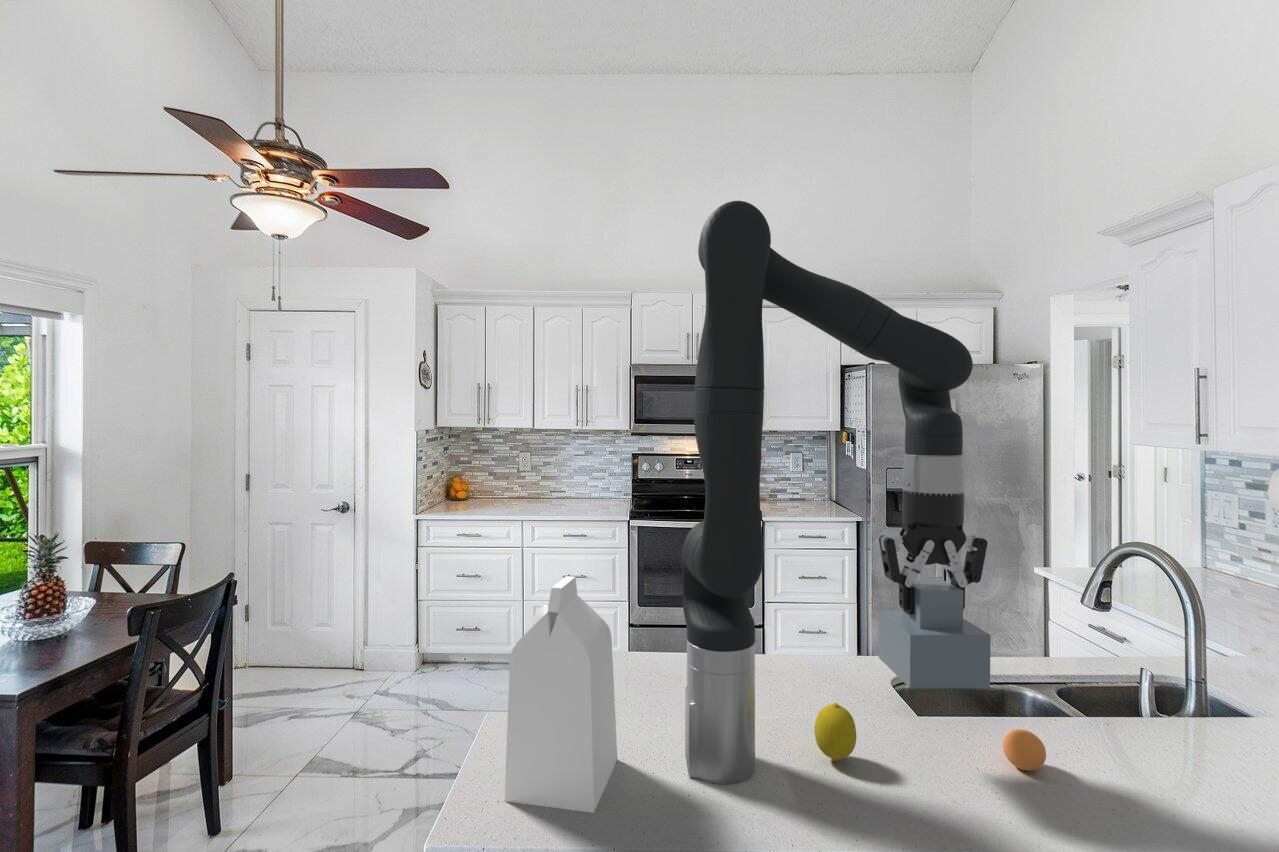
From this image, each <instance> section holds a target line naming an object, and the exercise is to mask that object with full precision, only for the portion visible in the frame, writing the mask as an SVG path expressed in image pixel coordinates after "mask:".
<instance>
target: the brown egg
mask: <svg viewBox="0 0 1279 852" xmlns="http://www.w3.org/2000/svg"><path fill="white" fill-rule="evenodd" d="M1002 749H1003V752H1004V755H1005V758H1007V760H1008V761H1009V762H1010V764H1012V765H1013V766H1014V767H1016V768H1018V769H1020V770H1022V771H1029V772H1032V771H1036V770H1038V769H1040V768H1041V767H1043V765H1044V764H1045V762H1046V758H1047V751H1046V747H1045V745H1044V743H1043V742H1042V740H1041V739H1040V738H1039V736H1037V735H1036V734H1035V733H1033V732H1031V731H1029V730H1026V729H1021V728H1018V729H1013V730H1010V731H1009V732H1007V734H1006V735H1004V737H1003V741H1002Z"/></svg>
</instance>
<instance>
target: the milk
mask: <svg viewBox="0 0 1279 852" xmlns="http://www.w3.org/2000/svg"><path fill="white" fill-rule="evenodd" d="M576 579H577V578H576V576H568V575H567V576H566V575H565V576H564V577H563V578H561V580H559V581H558V582H557V583H555V584H554V585H552V587H551V588H550V594H549V600H548V605H547V604H544V605H543V606H542V607H540V608H539V609H538V611H536V612H535V614H534V615H533V616H532V617H531V618H530V621H531V622H532V623H533V626H532V627H530V629H529V630H528V631H527V632H526V633H525V634H524V635H522V637H521V638H520V639H519V640H518V641H517V642H516V643H515V644H514V645H513V647H512V650H511V652H510V657H509V673H508V676H509V678H508V698H507V699H508V700H507V702H508V703H507V724H506V726H507V727H506V748H505V749H506V750H505V755H506V756H505V776H504V777H505V778H504V781H505V782H504V798H503V799H504V802H509V803H515V804H516V803H517V804H523V805H532V806H537V807H538V806H539V807H548V808H553V809H554V808H555V809H562V810H568V811H577V812H578V811H579V812H585V813H593V814H595V811H596V809H597V807H598V805H599V803H600V800H601V798H602V796H603V793H604V791H605V789H606V787H607V785H608V783H609V780H610V778H611V775H612V773H613V771H614V768H615V766H616V764H617V762H618V745H617V744H618V741H617V725H616V724H617V721H616V719H617V718H616V704H615V703H616V702H615V701H616V699H615V682H614V679H615V678H614V663H613V662H614V661H613V660H614V659H613V642H612V641H613V639H612V631H611V628H610V627H609V624H608V623H607V622H606V621H605V620H604V618H602V617H601V616H600V614H598V612H596V611H595V610H594V609H593V608H592V607H591V606H590V605H589V604H588V603H587V602H586V601H584V599H582V598H581V597H580V595H578V588H577V580H576Z"/></svg>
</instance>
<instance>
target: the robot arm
mask: <svg viewBox="0 0 1279 852" xmlns="http://www.w3.org/2000/svg"><path fill="white" fill-rule="evenodd" d="M771 233H772V232H771V229H770V225H769V223H768V221H767V219H766V217H765V215H764V214H763V212H762V211H761V210H760V209H758V207H756V206H755V205H754V204H752V203H749V202H747V201H743V200H732V201H728V202H725V203H723V204H721V205H720V206H719V207H717V208H716V209H715V210H713V212H711V214H710V215H709V216H708V217H707V219H706V220H705V222H704V223H703V225H702V229H701V231H700V237H699V241H698V248H697V249H698V250H697V253H698V260H699V263H700V265H701V268H702V269H703V270H704V280H705V281H704V285H705V314H704V322H703V328H702V332H701V338H700V343H699V349H698V354H697V362H696V369H695V380H694V400H693V402H694V403H693V422H694V425H693V426H694V433H695V439H696V445H697V449H698V450H697V451H698V456H699V459H700V463H701V468H702V473H703V480H704V489H705V503H704V517H703V520H702V521H700V522H698V523H696V524H695V525H694V526H693V527H692V528H691V529H690V530H689V532H688V533H687V535H686V537H685V539H684V542H683V545H682V552H681V553H682V554H681V585H682V586H681V589H682V593H681V594H682V610H683V611H682V612H683V616H684V619H685V624H686V686H685V689H684V690H685V695H684V699H685V700H684V704H685V705H684V706H685V707H684V710H685V711H684V712H685V713H684V715H685V718H684V719H685V720H684V721H685V722H684V727H685V728H684V733H685V734H684V737H685V739H684V741H685V742H684V747H685V748H684V752H685V761H686V766H687V774H688V777H689V778H699V779H702V780H705V782H706V781H707V782H710V783H716V784H734V783H735V784H736V783H739V782H743V781H745V780H746V779H749V778H750V777H752V775H753V774H754V772H755V768H756V626H755V625H756V623H755V620H754V618H753V615H752V613H751V610H750V608H749V604H748V600H747V594H748V593H749V592H751V590H752V589H753V588H755V586H756V584H757V583H758V581H759V579H760V577H761V575H762V572H763V567H764V540H763V530H762V529H763V528H762V517H761V516H762V515H761V512H762V511H761V496H760V494H761V493H760V490H761V488H760V487H761V485H760V484H761V469H762V468H761V465H762V448H763V447H762V444H763V443H762V441H763V440H762V439H763V425H764V410H765V409H764V408H765V407H764V403H765V391H764V390H765V354H764V353H765V352H764V351H765V350H764V349H765V346H764V345H765V344H764V331H763V303H764V301H767V302H769V303H771V304H773V305H775V306H778V307H779V308H782V309H783V310H785V311H787V312H789V313H791V314H793V315H795V316H796V317H798V318H800V319H802V320H803V321H805V322H806V323H809V324H811V325H812V326H814V327H815V328H817V329H819V330H821V332H824V333H826V334H827V335H829V336H830V337H832V338H834V339H835V340H836V341H839V342H840V343H842V344H844V345H846V346H847V347H849V348H851V350H854V351H855V352H857V353H859V354H860V355H862V356H864V357H866V358H869V359H871V360H873V361H879V362H880V361H882V362H885V363H888V364H891V365H893V366H894V367H896V368H898V373H897V375H898V376H897V378H898V380H897V381H898V390H899V394H900V401H901V407H902V410H903V411H902V412H903V414H904V419H905V429H904V430H905V431H904V434H905V435H904V460H903V467H902V479H901V486H902V509H901V510H902V512H901V513H902V516H901V517H902V518H901V519H902V527H901V529H900V532H899V534H894V535H890V536H887V535H885V534H881V535H880V536H879V537H878V543H879V549H880V555H881V561H882V567H883V572H884V576H885V578H887V579H889V580H890V581H892V582H893V583H897V584H898V604H899V607H900V608H901V610H902V609H903V611H904V612H905V613H907V614H908V615H914V613H915V588H914V587H912V586H913V585H914V583H915V581H916V580H917V578H918V576H919V574H921V573H922V572H923V569H924V567H925V565H926V566H931V565H934V564H937V565H941V566H942V568H943V569H944V570H945V572H946V575H947V577H948V580H949V581H950V584H952V585H954V586H955V587H957V588H959V589H961V590H963V611H964V609H965V607H966V587H967V586H968V585H970V584H973V583H975V584H978V583H980V582H981V580H982V574H983V569H984V564H985V559H986V554H987V548H988V541H987V539H985V538H983V537H981V536H977V535H973V534H972V535H971V536H970V535H966V533H965V531H964V528H963V526H964V522H965V466H964V460H963V458H964V457H963V441H964V440H963V437H964V435H963V429H964V428H963V422H962V418H961V416H960V414H958V413H957V412H955V411H954V410H953V408H952V401H951V394H950V391H952V390H955V389H957V388H959V387H960V386H962V385H964V384H965V383H966V382H967V381H968V380H969V378H970V377H971V374H972V371H973V367H974V365H973V364H974V363H973V357H972V355H971V353H970V350H969V349H968V348H967V346H965V344H963V343H962V342H961V341H960V340H958V338H956V337H955V336H953V335H951V334H949V333H947V332H946V331H943V330H941V329H939V328H936V327H934V326H931V325H928V324H925V323H924V322H920V321H918V320H916V319H912V318H909V317H907V316H904V315H902V314H901V313H899V312H897V311H896V310H894V309H893V308H891V307H890V306H889V305H886V304H885V303H883V302H882V301H880V300H878V299H876V298H875V297H873V296H871V295H870V294H868V293H866V292H864V291H862V290H860V289H858V288H856V287H854V286H851V285H850V284H847V283H844V282H841V281H839V280H836V279H833V278H830V277H827V276H823V275H820V274H818V273H816V272H812V271H811V270H807V269H806V268H803V267H801V266H799V265H797V264H795V263H794V262H792V261H790V260H789V259H787V258H786V257H784V256H782V255H781V254H780V253H778V252H777V251H776V250H775V249H773V248H772V247H771V243H772V234H771ZM901 545H903V547H904V549H906V553H905V555H904V557H903V560H902V566H901V568H900V565H899V560H898V554H897V553H898V552H899V551H900V546H901ZM963 546H964V550H965V551H966V554H965V558H964V563H963V565H962V562H961V560H960V558H959V555H958V553H959V552H960V551H961V549H962V548H963Z"/></svg>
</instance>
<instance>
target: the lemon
mask: <svg viewBox="0 0 1279 852" xmlns="http://www.w3.org/2000/svg"><path fill="white" fill-rule="evenodd" d="M814 738H815V741H816V744H817V747H818V748H819V750H820V751H821V752H822V754H824V756H826V757H827V758H830V759H831V760H832V761H833V762H835V763H836V762H838V761H839V760H843V759H845V758H847V757H849V756H850V755H851V754H852V753H853V752H854V749H855V747H856V744H857V728H856V722H855V720H854V718H853V716H852V714H851V713H850V712H849V711H848V710H847V709H846V708H845V707H844V706H842V705H839V703H837V702H832V703H831V704H827V705H825V706H823V707H822V708H821V709H820V710H819V711H818V713H817V715H816V719H815V723H814Z"/></svg>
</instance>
